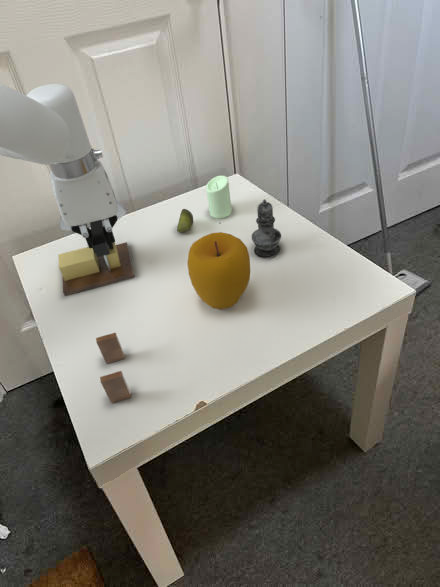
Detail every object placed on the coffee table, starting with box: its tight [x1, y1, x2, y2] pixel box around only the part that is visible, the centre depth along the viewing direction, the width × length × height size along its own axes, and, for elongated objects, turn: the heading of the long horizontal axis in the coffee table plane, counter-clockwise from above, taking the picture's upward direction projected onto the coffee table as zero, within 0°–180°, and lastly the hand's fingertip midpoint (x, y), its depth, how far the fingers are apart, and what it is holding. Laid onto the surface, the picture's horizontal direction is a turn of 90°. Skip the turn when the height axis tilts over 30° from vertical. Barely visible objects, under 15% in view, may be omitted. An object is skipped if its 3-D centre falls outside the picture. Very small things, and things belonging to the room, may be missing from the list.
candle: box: [205, 175, 233, 219], centre depth 101 cm, size 5×5×8 cm
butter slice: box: [106, 241, 121, 269], centre depth 93 cm, size 2×4×4 cm, turn 16°
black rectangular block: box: [89, 220, 111, 271], centre depth 91 cm, size 2×10×8 cm, turn 16°
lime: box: [176, 208, 194, 233], centre depth 99 cm, size 4×5×5 cm
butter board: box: [61, 241, 136, 297], centre depth 94 cm, size 14×11×1 cm
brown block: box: [95, 332, 132, 404], centre depth 72 cm, size 3×9×6 cm, turn 16°
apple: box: [187, 231, 251, 310], centre depth 80 cm, size 11×11×13 cm
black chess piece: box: [251, 198, 282, 260], centre depth 89 cm, size 6×6×12 cm
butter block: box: [58, 246, 100, 281], centre depth 92 cm, size 7×4×4 cm, turn 106°
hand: (103, 246), depth 91 cm, fingers closed on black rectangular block, 2 cm apart
